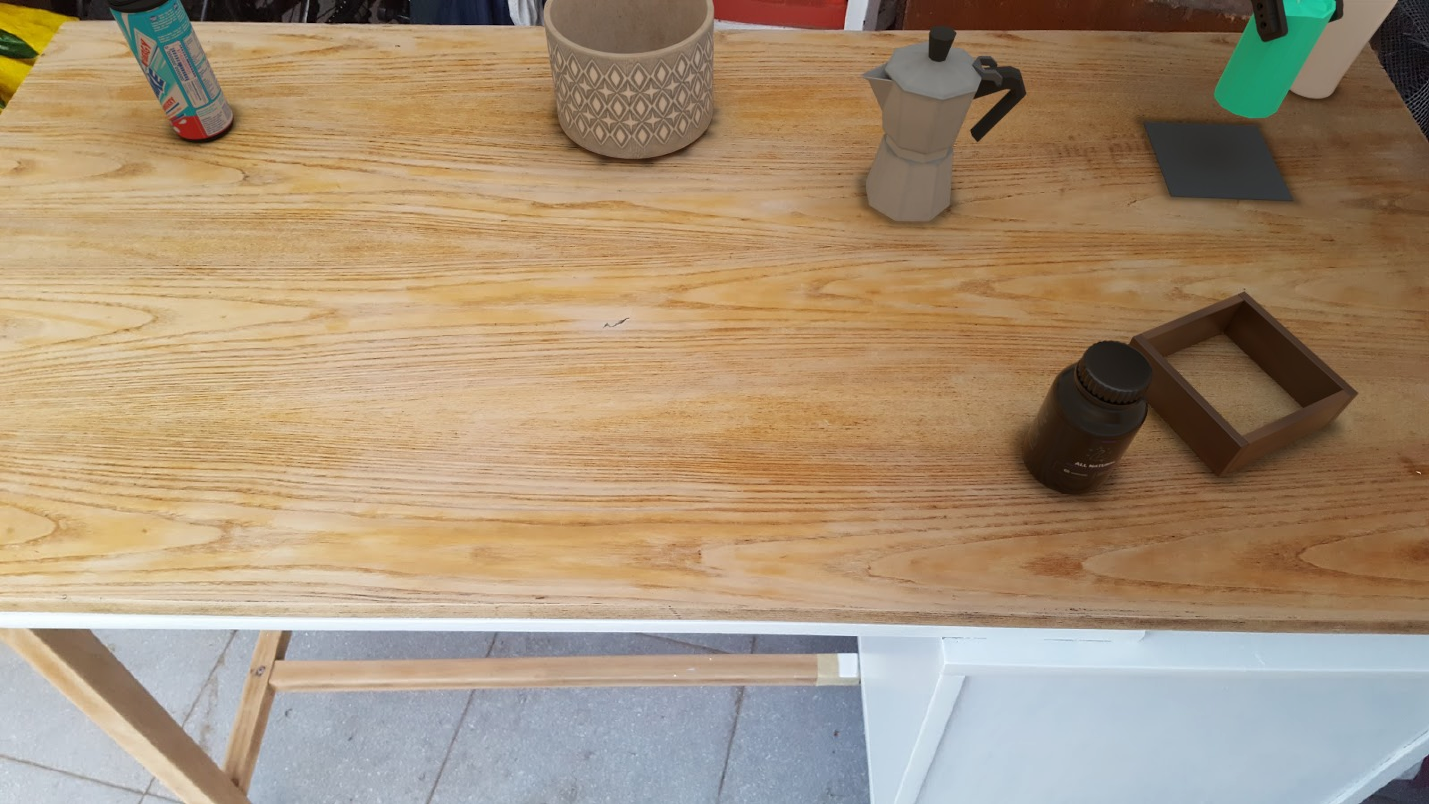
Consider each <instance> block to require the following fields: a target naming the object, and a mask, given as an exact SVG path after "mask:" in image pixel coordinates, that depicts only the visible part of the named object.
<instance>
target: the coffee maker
mask: <svg viewBox="0 0 1429 804" xmlns="http://www.w3.org/2000/svg"><path fill="white" fill-rule="evenodd" d="M956 36H957V31H956V30H955V29H953V28H952V27H950V26H946V25H941V24H940V25H936V26H932V27H931V28H930V30H929V32H928V40H925V41H921V42H918V43H913V44H908V45H906V46H902V47H896V48H894V50H893V52H892V54H891V56H890V57H889V60H888V61H886V62H884V63H882V64H880V65H878V66H876V67H874V68H872V69H870V70H867V71H865V72H864V73H861V74H860V77H861V78H862V79H865V80H866V81H868V83H869V86H870V87H871V90H872V92H873V95H874V96H875V99H876V101H877V103H878V106H879V108H880V110H881V120H882V121H881V122H882V130H883V132H884V134H883V135H882V138H881V141H880V143H879V145H878V148H877V150H876V154H875V156H874V159H873V161H872V163H871V167H870V169H869V171H868V174H867V177H866V180H865V183H864V185H865V189H866V190H865V192H866V197H867V202H868V206H869V207H871V208H872V209H875V210H876V211H877V212H879V213H881V214H883V215H884V216H886V217H887V218H889V219H891V220H893V221H895V222H931V221H932V220H933V219H934V218H935V217H937V216H938V215H939V214H940V213H942V212H943V211H944V210H945V209H947V208H948V207H949V206H950V205H951V195H952V179H953V164H954V146H955V143H956V142H957V138H958V136H959V134H960V132H961V129H962V127H963V124H964V123H965V120H966V117H967V115H968V112H969V109H970V108H971V105H972V102H973V100H976V99H979V98H984V97H986V96H989V95H992V94H995V93H999V92H1002V91H1004V90H1005V91H1006V90H1008V91H1007V92H1006V93H1005V94H1004V96H1002V97H1001V98H1000V100H998V102H996V104H994V106H992V107H991V108H990V109H989V110H988V111H987V112H986V113H985V115H983V116H982V117H981V118H980V120H978V121H977V122H976V123H975V124H974V126H972V127H971V128H970V129H969V131H970V132H969V133H970V135H971V137H972V139H974V140H975V141H976V143H979V142H980V141H981V140H982V139H983V138H984V137H985V136H986V135H987V134H988V133H989V132H990V131H992V129H993V128H995V126H996V125H998V123H999V122H1001V120H1002V119H1003V118H1004V117H1006V115H1008V114H1009V113H1010V112H1011V111H1012V109H1014V108H1015V107H1016V106H1017V105H1018V104H1019V103H1020V102H1021V101H1022V100H1023V99H1024V98H1025V97H1026V95H1027V90H1026V86H1025V83H1024V79H1023V76H1022V72H1021V69H1020V68H1017V67H1014V66H1012V65H1001V66H998V62H997V61H996V59H994V57H992V55H977V57H976V58H974V57H973V56H972V55H971V54H969V52H967V51H966V50H965V48H960V47H956V46H953V43H954V41H955V39H956Z"/></svg>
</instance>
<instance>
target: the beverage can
mask: <svg viewBox="0 0 1429 804" xmlns="http://www.w3.org/2000/svg"><path fill="white" fill-rule="evenodd" d="M105 3H106V5H107V7H108V8H109V10H110V13H111V15H112V16H113V19H114V20H115V22H116V24H117V26H118V28H119V30H120V31H121V33H122V35H123V37H124V39H125V41H126V43H127V45H128V47H129V49H130V51H131V53H132V54H133V56H134V59H135V60H136V61H137V63H138V65H139V67H140V69H141V72H142V73H143V75H144V76H145V78H146V80H147V82H148V84H149V86H150V87H151V89H152V91H153V93H154V95H155V97H156V99H157V100H158V102H159V104H160V106H161V108H162V110H163V112H164V114H165V116H166V117H167V120H168V121H169V123H170V125H171V126H172V128H173V130H174V132H175V133H176V134H177V136H179V137H180V138H181V139H183V140H185V141H187V142H189V143H190V142H191V143H207V142H211V141H214V140H216V139H219V138H220V137H223V136H225V134H227V133H228V132H229V131H230V130H231V129H232V127H233V125H234V113H233V110H232V109H231V106H230V104H229V102H228V100H227V97H226V96H225V93H224V91H223V89H222V87H221V85H220V83H219V81H218V78H217V76H216V75H215V72H214V70H213V68H212V65H211V63H210V61H209V59H208V57H207V55H206V52H205V51H204V48H203V46H202V43H201V41H200V40H199V38H198V35H197V33H196V31H195V29H194V27H193V25H192V23H191V21H190V19H189V16H188V14H187V12H186V10H185V8H184V6H183V4H182V2H181V0H105Z"/></svg>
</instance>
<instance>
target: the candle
mask: <svg viewBox="0 0 1429 804" xmlns="http://www.w3.org/2000/svg"><path fill="white" fill-rule="evenodd" d="M1283 4H1284V9H1285V15H1286V20H1287V26H1288V33H1287V35H1286V36H1284V37H1281V38H1278V39H1274V40H1271V41H1268V42H1263V41H1262V40H1261V38H1260V36H1259V34H1258V32H1257V28H1256V23H1255V17H1254V12H1252V14H1251V16H1250V18H1249V20H1248V22H1247V24H1246V26H1245V28H1244V30H1243V31H1242V34H1241V36H1240V38H1239V40H1238V42H1237V44H1236V46H1235V47H1234V50H1233V52H1232V53H1231V56H1230V58H1229V60H1228V62H1227V64H1226V66H1225V68H1224V70H1223V72H1222V74H1221V76H1220V78H1219V80H1218V81H1217V84H1216V85H1215V88H1214V89H1215V90H1214V93H1213V98H1214V99H1215V100H1216V102H1217V103H1218V105H1219V106H1220V107H1221V108H1223V109H1225V110H1227V111H1228V112H1229V113H1232V114H1233V115H1237V116H1241V117H1244V118H1249V119H1263V118H1264V119H1265V118H1268V117H1271V116H1272V115H1274V114H1275V113H1277V112H1278V110H1279V109H1280V107H1281V105H1282V103H1283V101H1284V100H1285V99H1286V96H1287V95H1288V93H1289V91H1290V90H1289V89H1290V88H1291V86H1292V84H1293V82H1294V81H1295V79H1296V77H1297V75H1298V74H1299V72H1300V70H1301V68H1302V67H1303V65H1304V63H1305V62H1306V60H1307V58H1308V56H1309V55H1310V53H1311V51H1312V49H1313V48H1314V46H1315V44H1316V42H1317V41H1318V39H1319V37H1320V35H1321V34H1322V32H1323V30H1324V29H1325V27H1326V25H1327V23H1328V22H1329V20H1330V18H1331V16H1332V15H1333V13H1334V11H1335V9H1336V1H1335V0H1283Z"/></svg>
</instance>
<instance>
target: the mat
mask: <svg viewBox="0 0 1429 804" xmlns="http://www.w3.org/2000/svg"><path fill="white" fill-rule="evenodd" d="M1143 126H1144V128H1145V131H1146V134H1147V137H1148V139H1149V142H1150V144H1151V147H1152V150H1153V153H1154V155H1155V158H1156V160H1157V163H1158V166H1159V169H1160V171H1161V174H1162V177H1163V179H1164V182H1165V185H1166V187H1167V190H1168V193H1169V196H1170V197H1171V198H1193V199H1194V198H1196V199H1220V200H1243V201H1244V200H1249V201H1270V202H1271V201H1272V202H1273V201H1274V202H1294V200H1295V199H1294V198H1293V196H1292V195H1291V191H1290V190H1289V188H1288V186H1287V184H1286V182H1285V179H1284V178H1283V176H1282V173H1281V171H1280V169H1279V167H1278V166H1277V163H1276V161H1275V159H1274V157H1273V155H1272V154H1271V150H1270V149H1269V147H1268V145H1267V143H1266V141H1265V139H1264V136H1263V135H1262V133H1261V131H1260V129H1259V127H1258V125H1247V124H1245V125H1244V124H1221V123H1220V124H1219V123H1216V124H1215V123H1194V122H1193V123H1191V122H1162V121H1143Z"/></svg>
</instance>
